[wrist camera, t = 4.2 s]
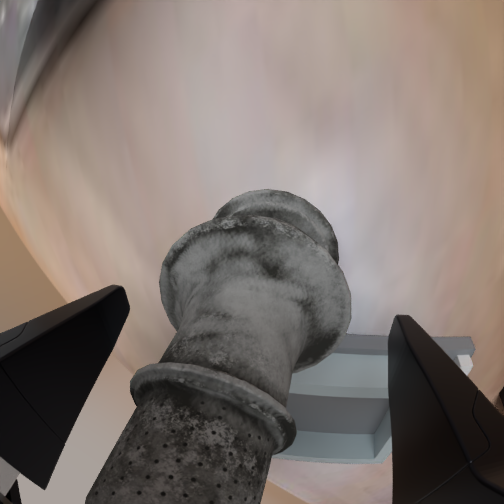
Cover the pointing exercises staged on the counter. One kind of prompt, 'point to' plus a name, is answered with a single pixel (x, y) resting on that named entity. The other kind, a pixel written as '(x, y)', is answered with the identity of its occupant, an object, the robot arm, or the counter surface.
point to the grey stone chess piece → (230, 354)
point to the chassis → (351, 401)
